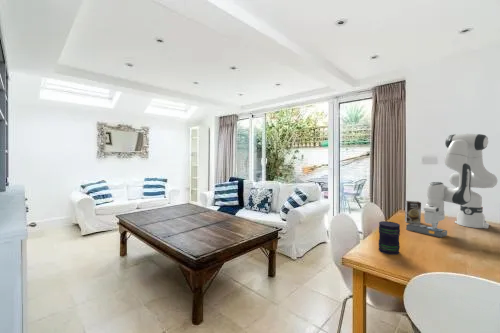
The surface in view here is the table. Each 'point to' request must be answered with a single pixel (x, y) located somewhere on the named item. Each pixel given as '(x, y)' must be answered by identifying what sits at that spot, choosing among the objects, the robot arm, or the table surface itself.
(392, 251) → the storage jar
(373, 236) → the table surface
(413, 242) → the table surface
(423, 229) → the rack
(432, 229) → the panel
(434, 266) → the table surface
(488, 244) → the table surface
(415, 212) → the coffee box
